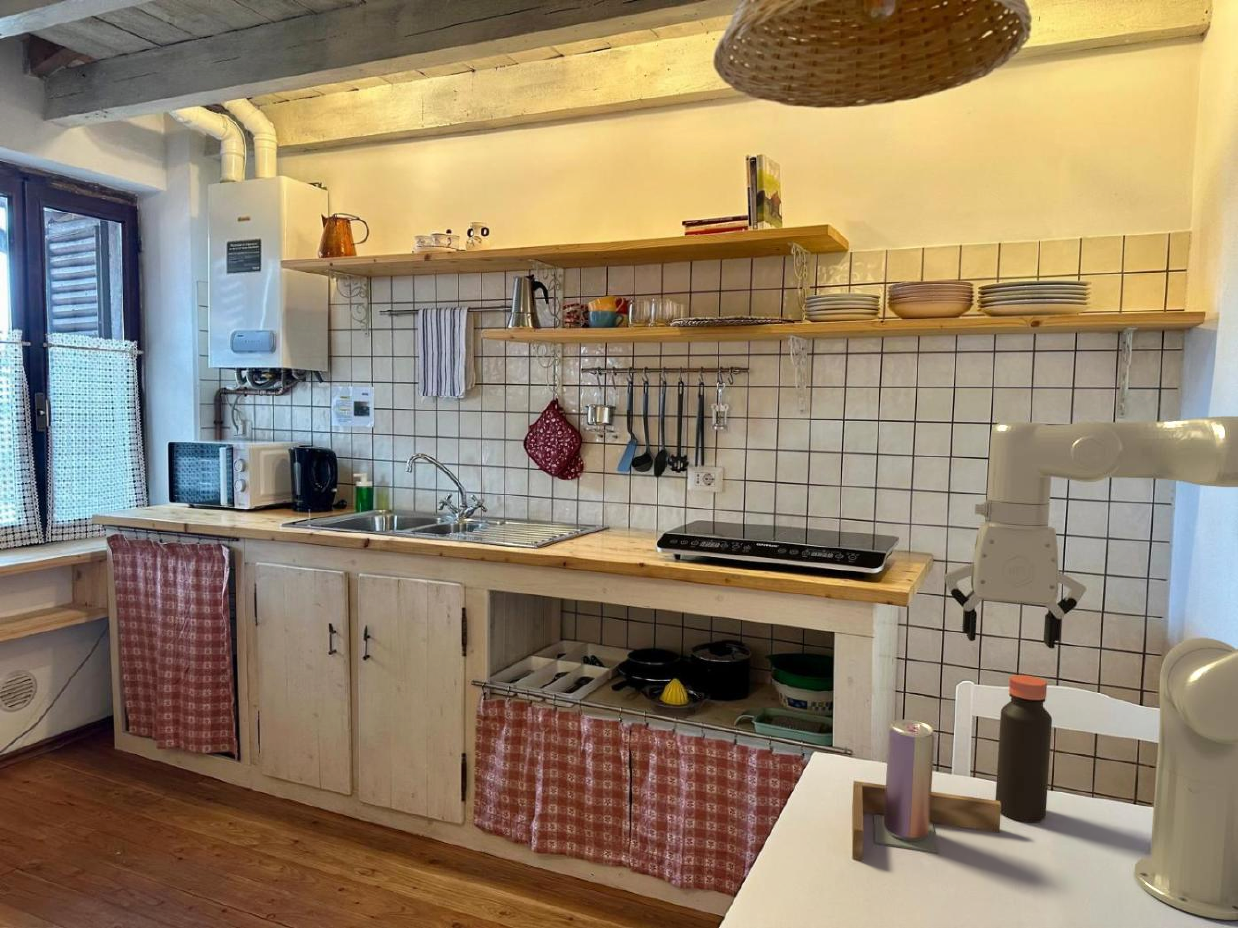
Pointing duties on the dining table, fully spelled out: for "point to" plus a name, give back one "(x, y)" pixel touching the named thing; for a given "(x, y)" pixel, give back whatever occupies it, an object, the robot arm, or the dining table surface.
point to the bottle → (1024, 751)
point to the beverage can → (909, 780)
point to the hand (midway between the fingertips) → (1009, 642)
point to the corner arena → (941, 811)
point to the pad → (887, 839)
